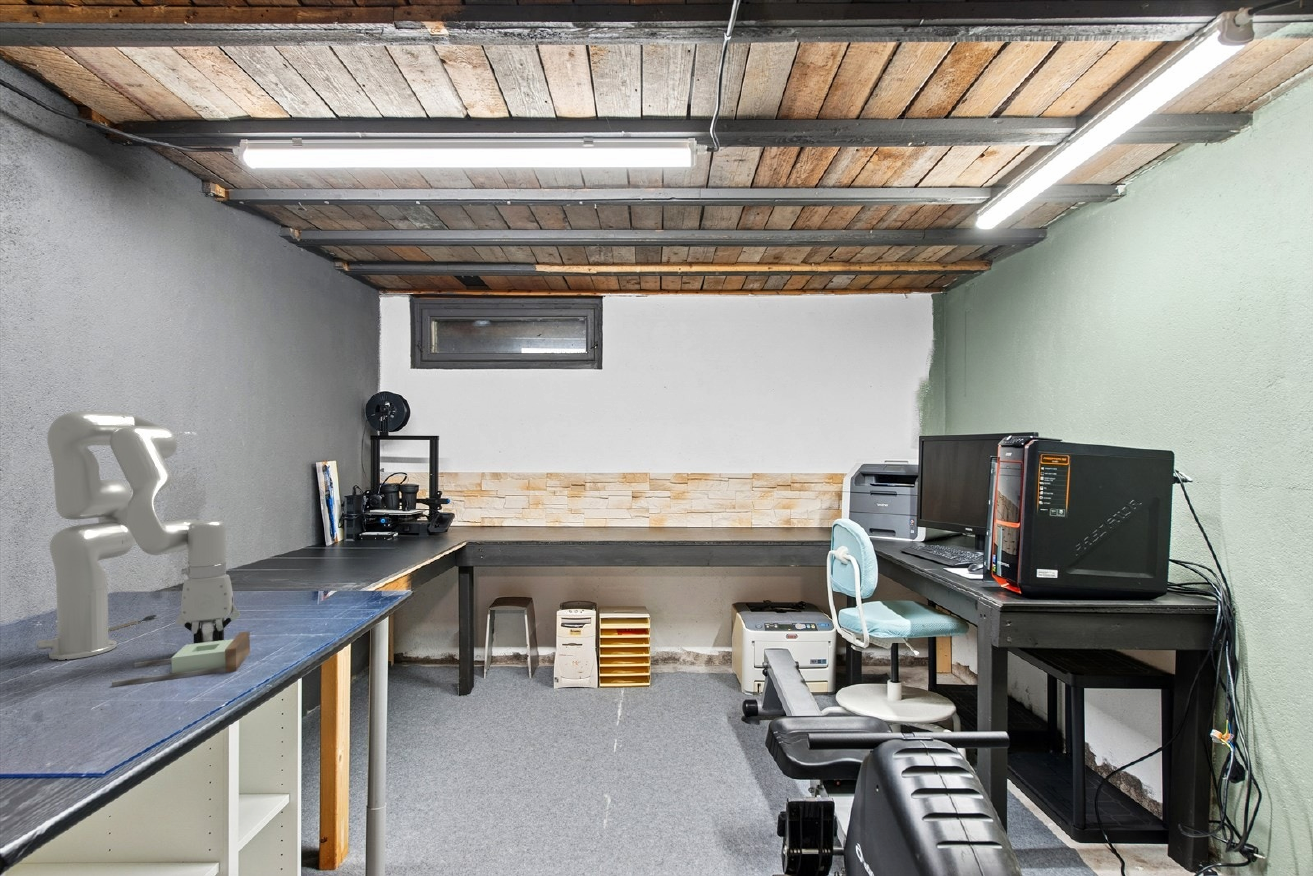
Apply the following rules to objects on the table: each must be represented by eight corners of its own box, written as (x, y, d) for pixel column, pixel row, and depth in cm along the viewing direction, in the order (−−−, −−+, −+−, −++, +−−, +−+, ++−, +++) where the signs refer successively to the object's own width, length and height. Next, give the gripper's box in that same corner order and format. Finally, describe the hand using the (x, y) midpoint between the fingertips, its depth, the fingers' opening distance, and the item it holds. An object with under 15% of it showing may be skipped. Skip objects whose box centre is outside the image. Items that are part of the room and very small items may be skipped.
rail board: (86, 697, 131) (85, 666, 131) (114, 674, 144) (113, 646, 144) (236, 676, 141) (235, 648, 141) (250, 657, 154) (249, 631, 154)
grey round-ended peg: (199, 656, 156) (198, 615, 156) (203, 652, 159) (202, 611, 159) (215, 654, 157) (214, 613, 157) (218, 651, 160) (217, 610, 160)
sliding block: (171, 676, 138) (171, 657, 138) (186, 662, 148) (185, 644, 148) (226, 669, 142) (226, 651, 142) (237, 655, 151) (236, 638, 151)
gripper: (161, 578, 151) (163, 657, 151) (243, 571, 157) (245, 647, 157) (171, 572, 158) (173, 647, 158) (249, 566, 164) (251, 638, 164)
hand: (209, 646), depth 158 cm, fingers closed on grey round-ended peg, 3 cm apart
